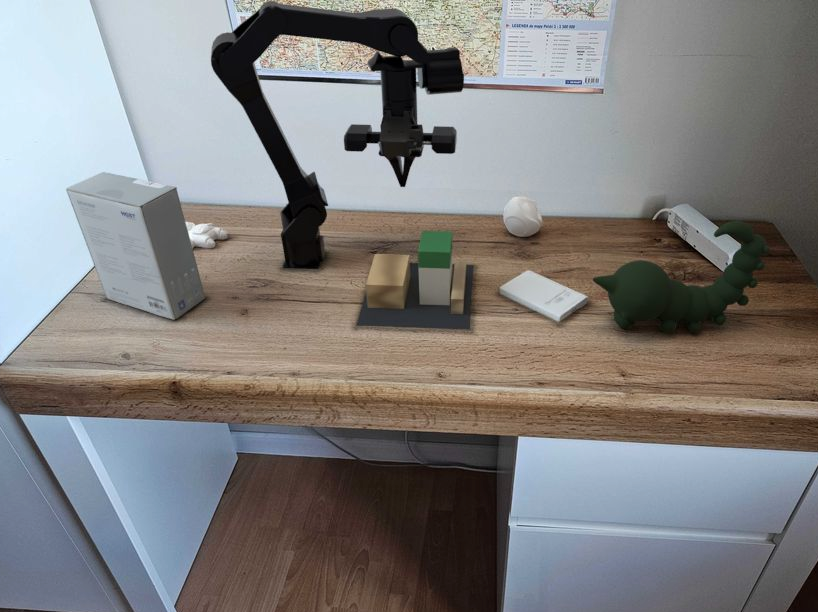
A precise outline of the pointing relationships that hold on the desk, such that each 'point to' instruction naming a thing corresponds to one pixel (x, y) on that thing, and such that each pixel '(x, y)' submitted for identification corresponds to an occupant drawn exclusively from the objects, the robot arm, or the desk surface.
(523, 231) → the white ball
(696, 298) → the toy figurine
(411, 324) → the desk mat
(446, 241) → the block
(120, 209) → the hard drive box
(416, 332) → the desk surface
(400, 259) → the birch block
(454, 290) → the ash rail
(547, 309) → the hard drive
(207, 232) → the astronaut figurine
